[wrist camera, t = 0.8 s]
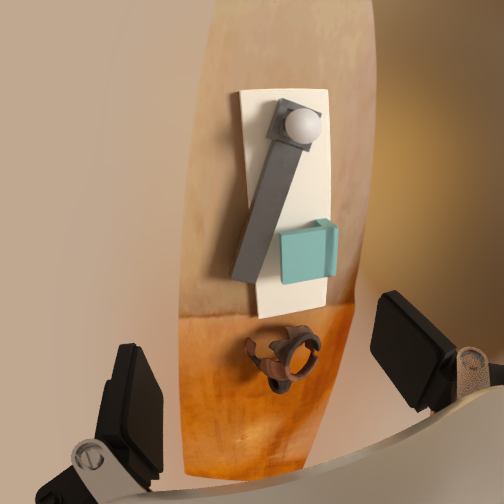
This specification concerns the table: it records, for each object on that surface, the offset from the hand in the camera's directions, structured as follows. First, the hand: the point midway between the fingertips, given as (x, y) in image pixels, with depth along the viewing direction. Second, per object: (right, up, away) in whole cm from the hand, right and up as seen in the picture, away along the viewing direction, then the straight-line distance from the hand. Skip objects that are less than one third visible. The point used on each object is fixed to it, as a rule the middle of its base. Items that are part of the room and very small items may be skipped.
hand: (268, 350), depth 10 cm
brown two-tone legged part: (+3, -10, +32) cm, 34 cm away
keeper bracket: (+5, +5, +24) cm, 25 cm away
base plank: (+4, +8, +23) cm, 25 cm away
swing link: (+1, +10, +20) cm, 23 cm away
